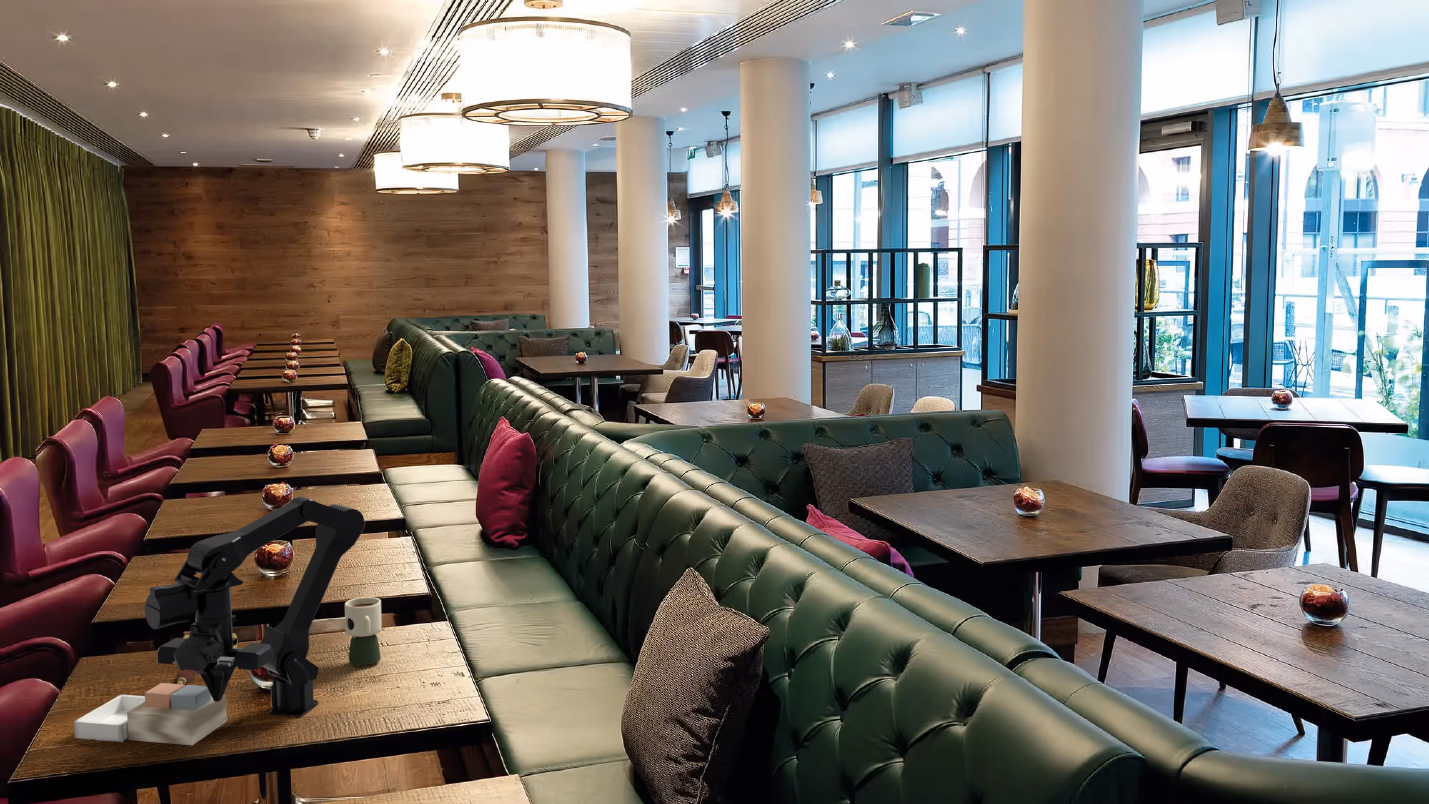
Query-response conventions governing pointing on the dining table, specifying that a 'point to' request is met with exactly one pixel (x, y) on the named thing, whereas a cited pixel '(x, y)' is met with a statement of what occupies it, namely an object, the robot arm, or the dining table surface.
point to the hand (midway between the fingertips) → (217, 700)
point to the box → (108, 720)
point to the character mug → (363, 629)
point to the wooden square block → (175, 723)
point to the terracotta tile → (161, 695)
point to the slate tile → (190, 697)
